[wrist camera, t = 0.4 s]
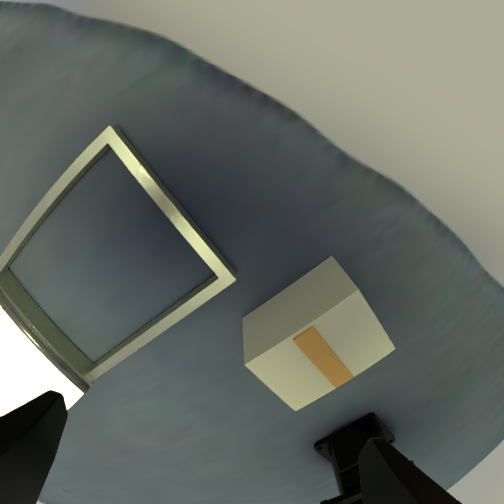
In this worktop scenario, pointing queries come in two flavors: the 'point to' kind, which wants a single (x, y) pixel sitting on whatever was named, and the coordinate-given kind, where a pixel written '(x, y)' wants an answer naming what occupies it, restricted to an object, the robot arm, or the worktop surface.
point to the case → (46, 332)
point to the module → (313, 336)
